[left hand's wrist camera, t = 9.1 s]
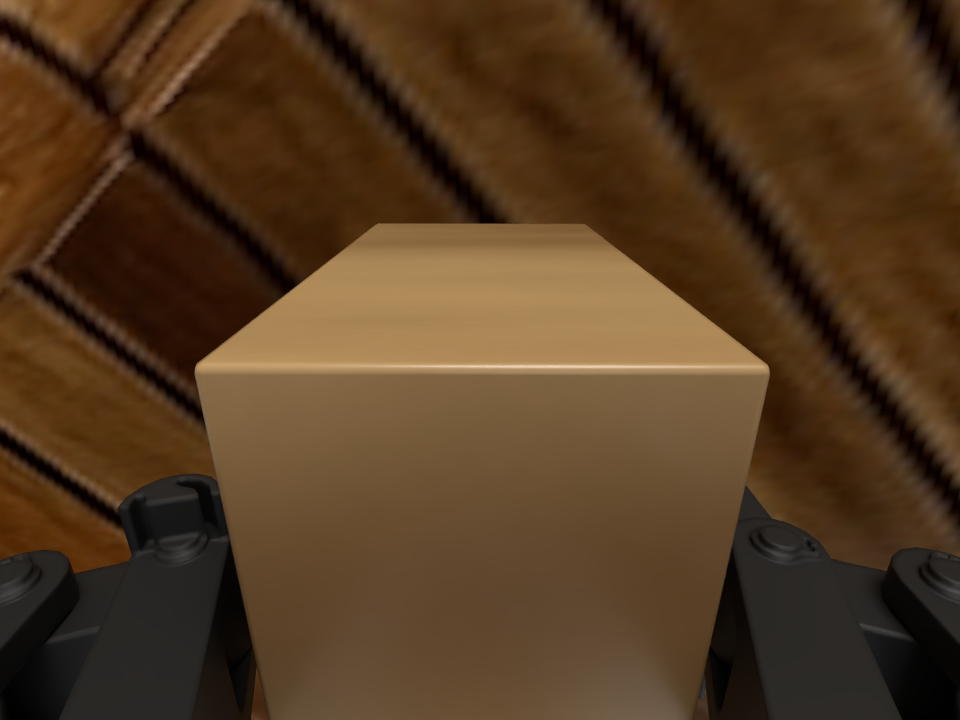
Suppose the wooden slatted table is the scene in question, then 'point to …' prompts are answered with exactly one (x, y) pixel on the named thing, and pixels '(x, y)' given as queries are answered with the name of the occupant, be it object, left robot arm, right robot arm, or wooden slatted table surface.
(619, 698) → the bar
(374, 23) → the wooden slatted table surface
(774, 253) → the wooden slatted table surface
